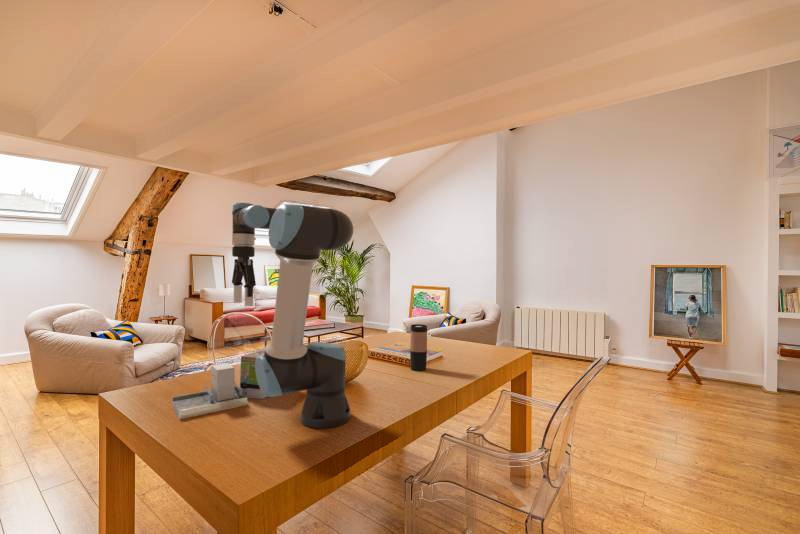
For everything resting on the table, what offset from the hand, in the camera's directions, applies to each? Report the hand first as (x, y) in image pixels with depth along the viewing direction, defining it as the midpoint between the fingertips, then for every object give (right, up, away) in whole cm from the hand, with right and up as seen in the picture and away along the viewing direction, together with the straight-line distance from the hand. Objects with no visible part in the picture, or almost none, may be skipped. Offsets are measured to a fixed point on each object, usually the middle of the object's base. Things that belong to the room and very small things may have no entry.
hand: (243, 304), depth 140 cm
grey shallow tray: (-7, -33, -11) cm, 35 cm away
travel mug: (+66, -33, +36) cm, 82 cm away
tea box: (+6, -33, +3) cm, 34 cm away
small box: (-3, -31, -9) cm, 32 cm away
